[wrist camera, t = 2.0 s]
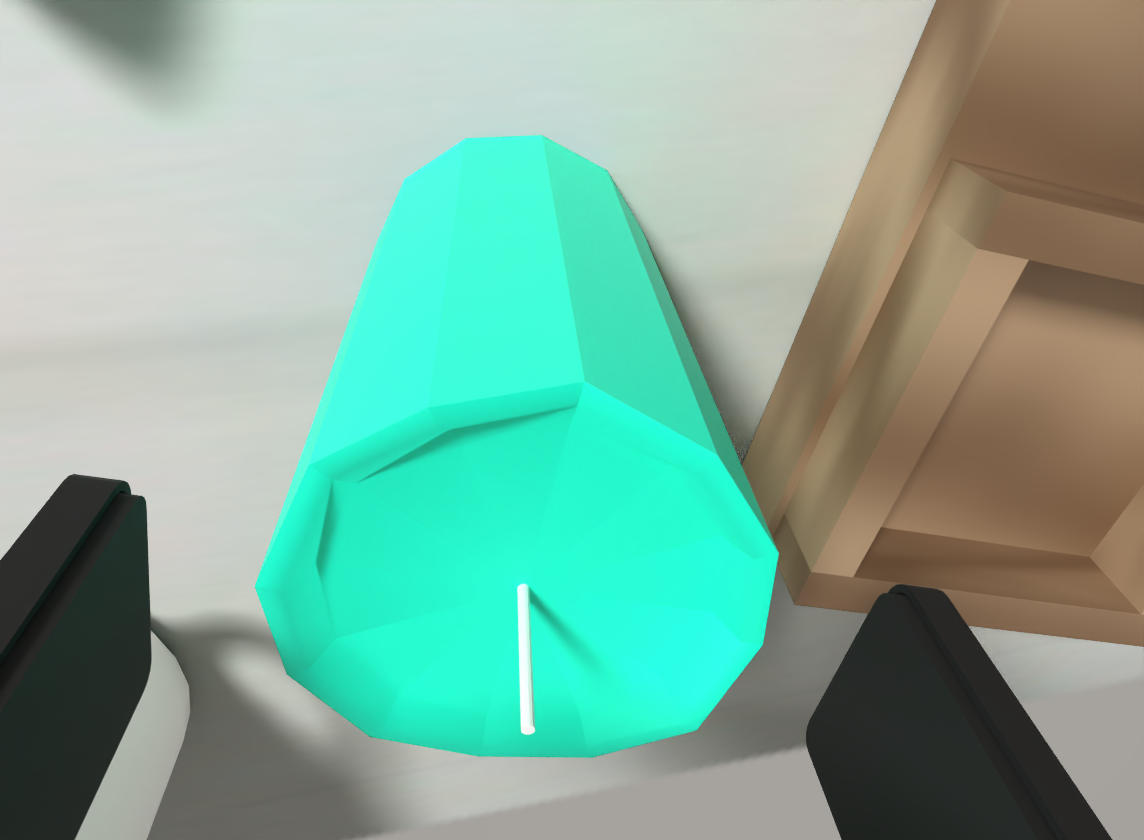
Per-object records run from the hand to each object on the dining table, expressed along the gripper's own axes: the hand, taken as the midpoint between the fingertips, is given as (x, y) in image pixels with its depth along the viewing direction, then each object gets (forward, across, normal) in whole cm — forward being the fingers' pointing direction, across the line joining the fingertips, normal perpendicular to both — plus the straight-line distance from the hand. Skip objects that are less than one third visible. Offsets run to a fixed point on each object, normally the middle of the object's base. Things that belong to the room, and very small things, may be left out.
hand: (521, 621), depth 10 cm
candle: (+10, 0, -1) cm, 10 cm away
